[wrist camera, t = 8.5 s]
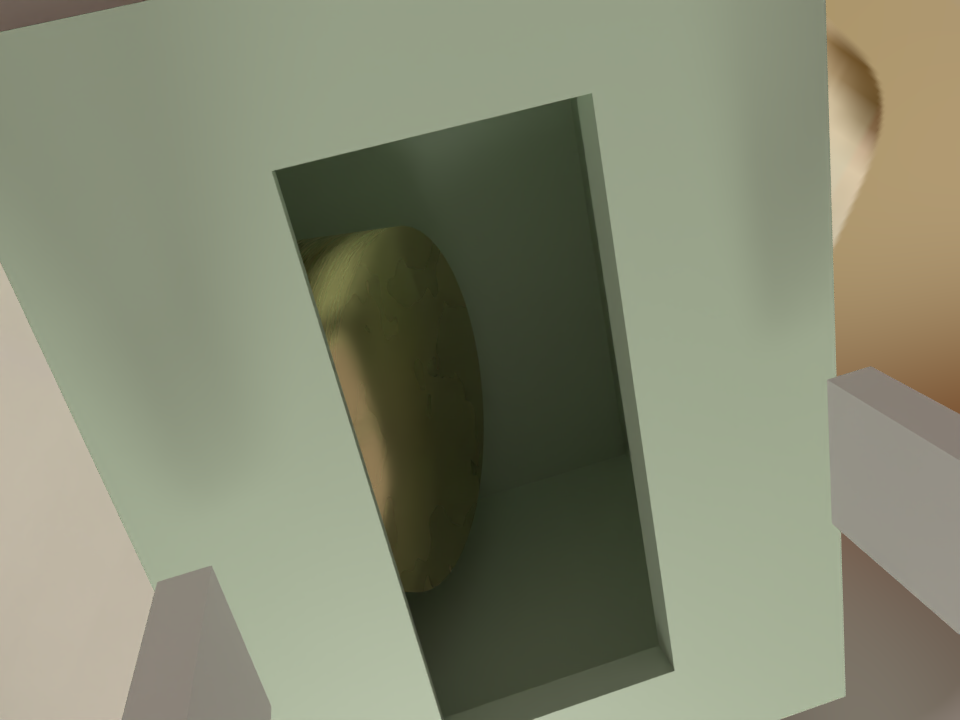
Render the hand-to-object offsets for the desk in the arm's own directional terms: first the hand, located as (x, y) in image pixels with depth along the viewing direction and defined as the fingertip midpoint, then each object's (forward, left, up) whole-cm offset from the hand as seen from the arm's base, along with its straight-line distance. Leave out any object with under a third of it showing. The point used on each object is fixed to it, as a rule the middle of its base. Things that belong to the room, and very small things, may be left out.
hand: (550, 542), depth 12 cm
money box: (0, 0, -14) cm, 14 cm away
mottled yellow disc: (+2, 0, -13) cm, 13 cm away
